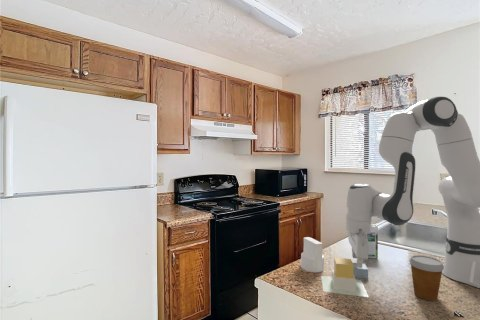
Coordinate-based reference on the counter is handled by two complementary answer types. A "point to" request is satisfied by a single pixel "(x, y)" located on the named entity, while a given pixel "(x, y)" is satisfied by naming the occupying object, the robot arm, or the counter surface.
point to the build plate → (329, 288)
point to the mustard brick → (343, 267)
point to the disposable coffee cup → (426, 276)
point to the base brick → (343, 283)
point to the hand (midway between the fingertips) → (356, 262)
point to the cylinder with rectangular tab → (312, 255)
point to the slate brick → (360, 271)
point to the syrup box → (373, 242)
